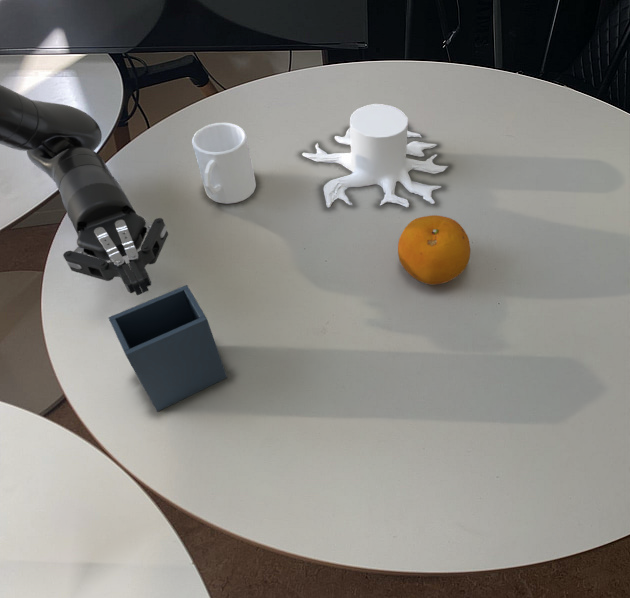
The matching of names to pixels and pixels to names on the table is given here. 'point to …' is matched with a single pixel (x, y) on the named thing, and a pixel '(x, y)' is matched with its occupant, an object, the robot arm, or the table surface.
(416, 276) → the fruit
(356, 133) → the white tree stump
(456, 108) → the table surface
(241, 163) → the mug
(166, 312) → the bin
